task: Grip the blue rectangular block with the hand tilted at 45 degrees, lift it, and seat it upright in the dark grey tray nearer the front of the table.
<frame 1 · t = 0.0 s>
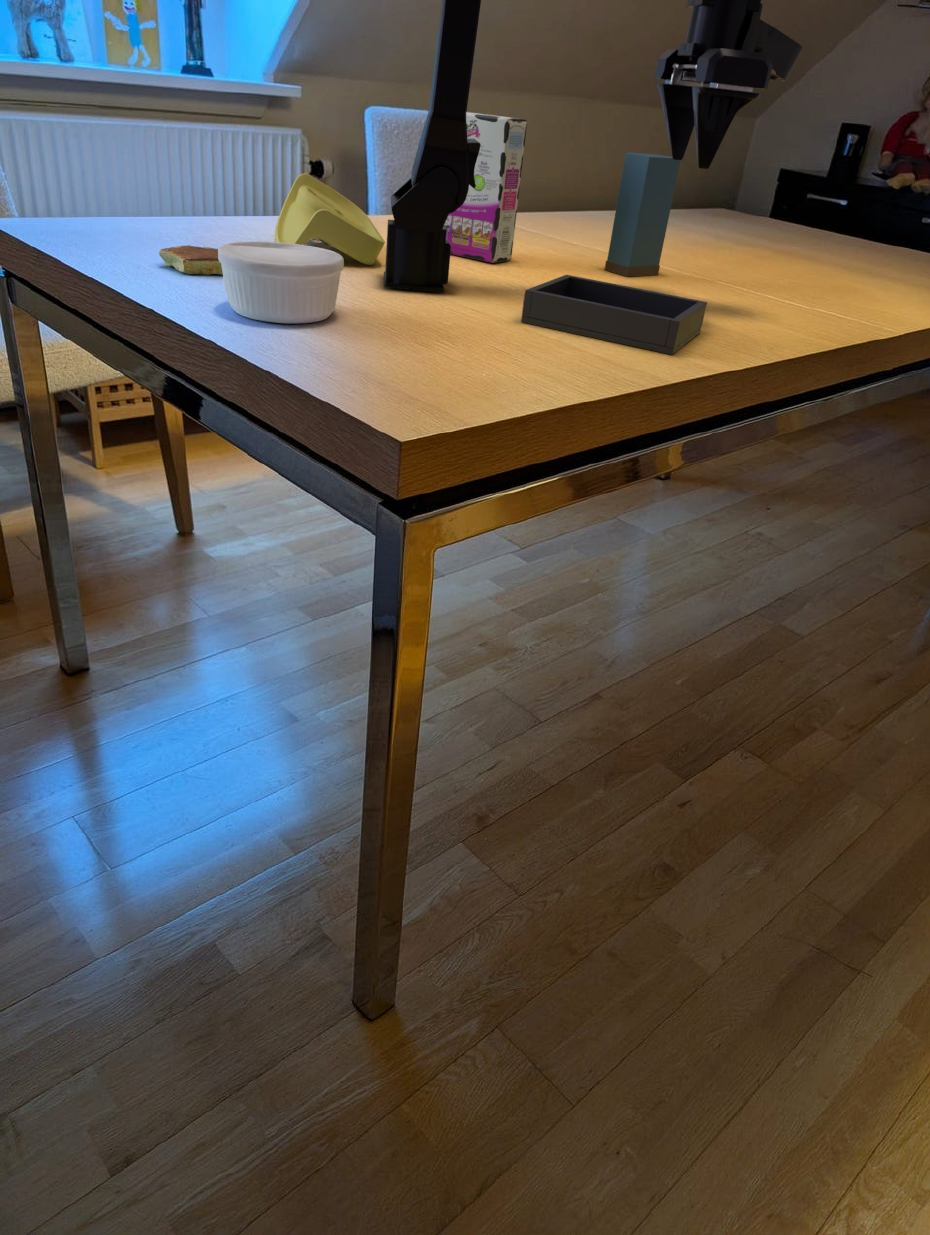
hand: (689, 164, 93), 15 cm above the table, tool pointing down, fingers open, 9 cm apart
blue rectangular block: (631, 272, 118), on the table
ramekin: (282, 314, 82), on the table
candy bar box: (467, 256, 117), on the table
dark grey tray: (612, 327, 90), on the table
brown and green slab: (218, 270, 95), on the table
plastic component: (328, 252, 110), on the table
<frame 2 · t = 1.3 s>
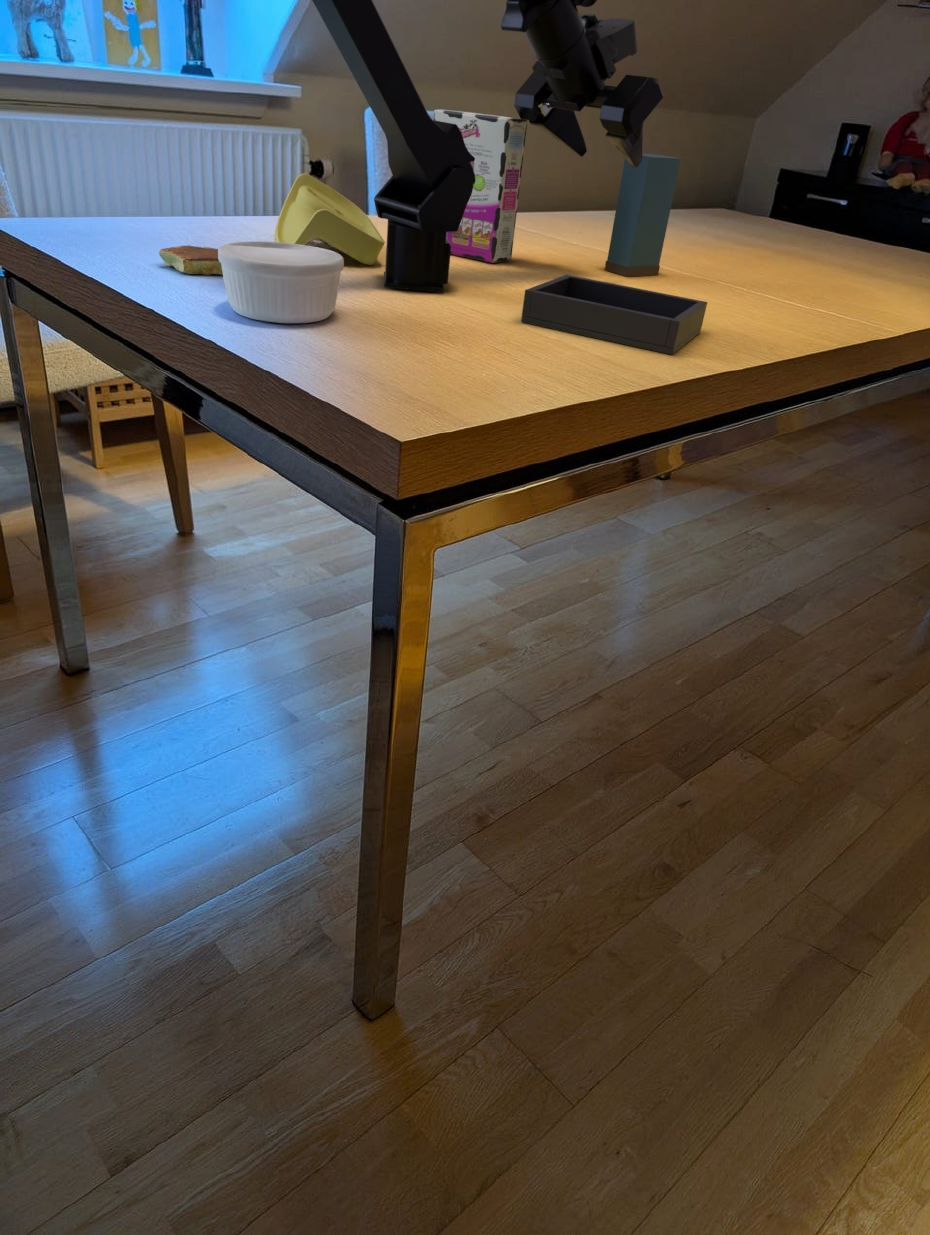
hand: (610, 159, 106), 13 cm above the table, tool tilted 45°, fingers open, 9 cm apart
nothing on the table moved.
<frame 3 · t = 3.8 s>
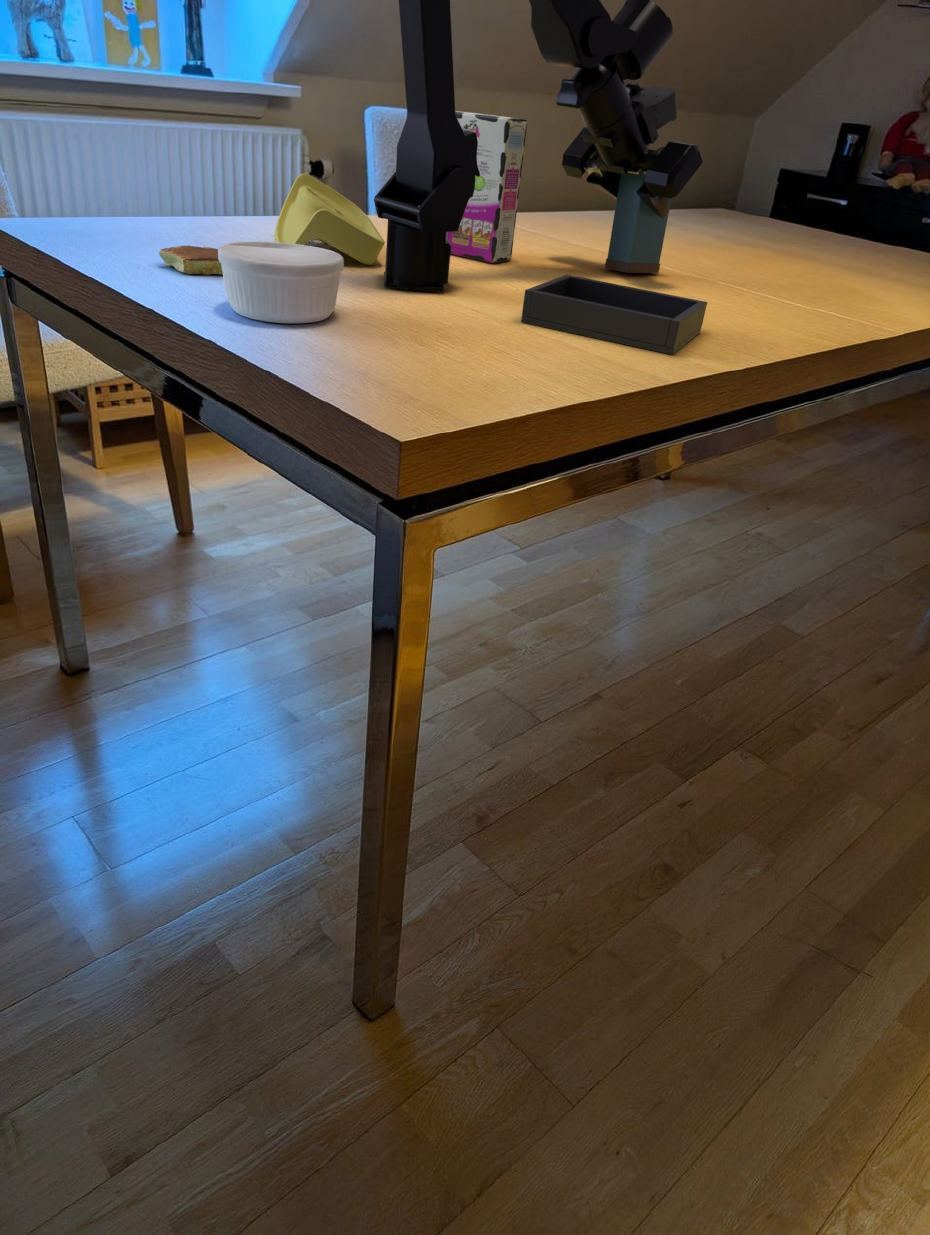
hand: (650, 211, 115), 7 cm above the table, tool tilted 45°, fingers closed on blue rectangular block, 5 cm apart
blue rectangular block: (631, 270, 118), on the table, touching gripper
everything else where it was.
when the fingers open (8 cm above the table, at t = 11.9 s): blue rectangular block stays where it is, resting on dark grey tray.
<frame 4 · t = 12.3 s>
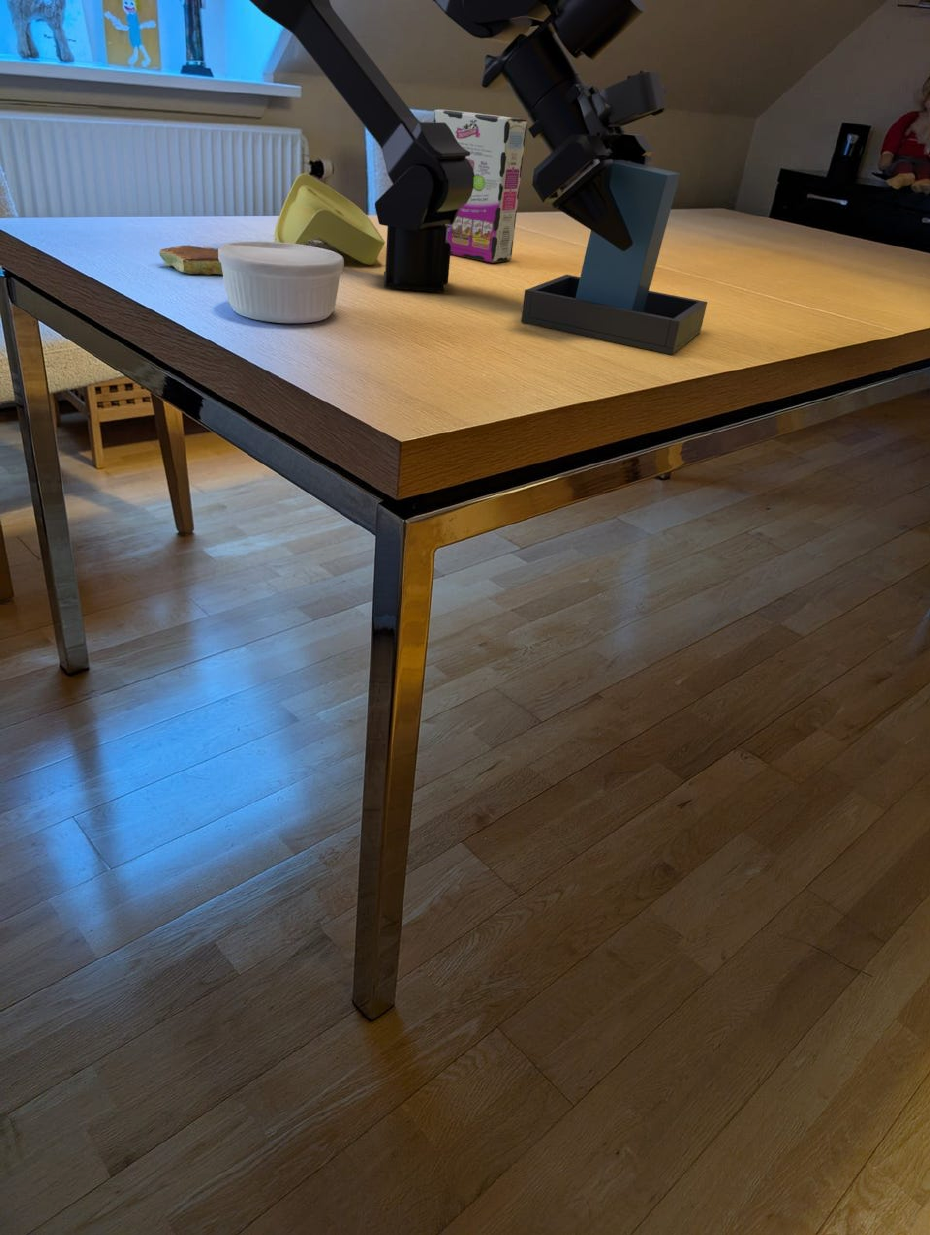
hand: (642, 242, 85), 8 cm above the table, tool tilted 45°, fingers open, 9 cm apart
blue rectangular block: (606, 319, 89), point 1 cm above the table, touching dark grey tray, gripper
everything else where it was.
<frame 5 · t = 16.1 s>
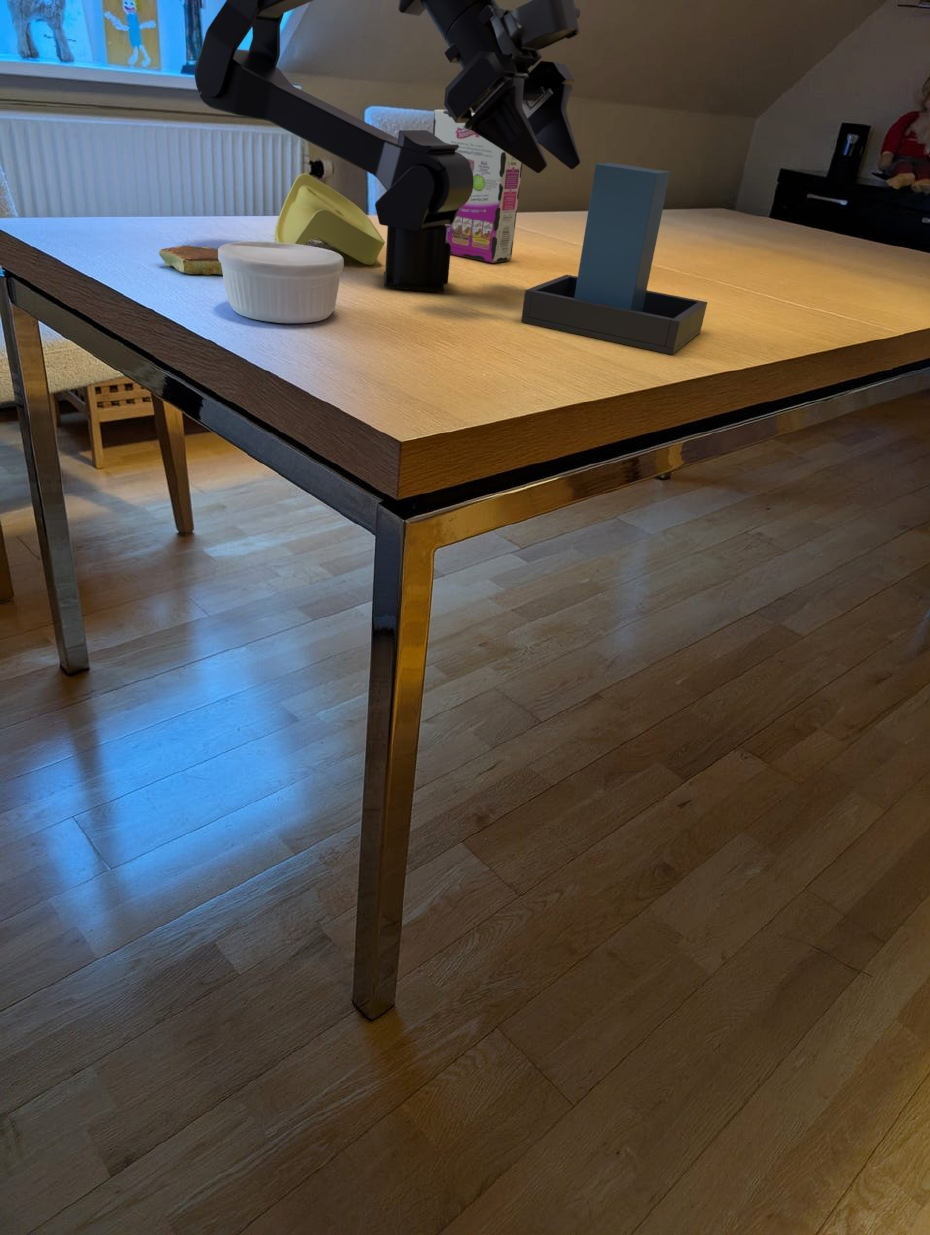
hand: (560, 168, 85), 14 cm above the table, tool tilted 45°, fingers open, 9 cm apart
blue rectangular block: (605, 321, 89), point 1 cm above the table, touching dark grey tray
everything else where it was.
at the end: blue rectangular block inside the target area in the dark grey tray (0.9 cm from its centre), point 0.6 cm above the dark grey tray's base; blue rectangular block tilted 0°; the gripper is holding nothing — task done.
